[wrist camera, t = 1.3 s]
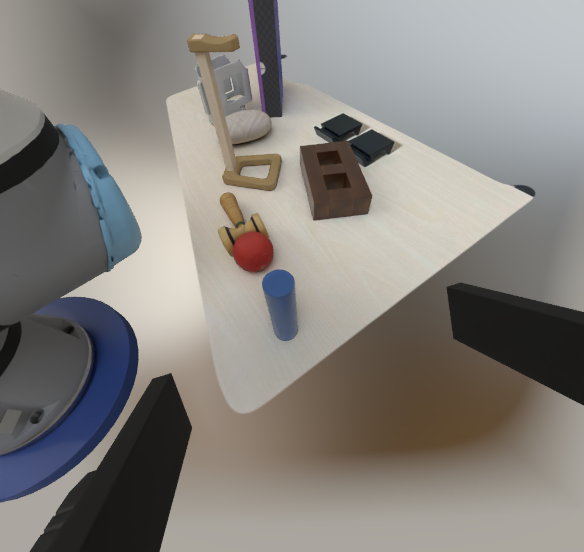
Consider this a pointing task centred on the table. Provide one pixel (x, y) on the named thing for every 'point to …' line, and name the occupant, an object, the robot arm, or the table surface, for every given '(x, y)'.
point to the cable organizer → (227, 85)
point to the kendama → (245, 237)
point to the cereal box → (267, 54)
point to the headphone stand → (233, 164)
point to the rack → (334, 181)
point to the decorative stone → (247, 125)
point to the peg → (281, 303)
